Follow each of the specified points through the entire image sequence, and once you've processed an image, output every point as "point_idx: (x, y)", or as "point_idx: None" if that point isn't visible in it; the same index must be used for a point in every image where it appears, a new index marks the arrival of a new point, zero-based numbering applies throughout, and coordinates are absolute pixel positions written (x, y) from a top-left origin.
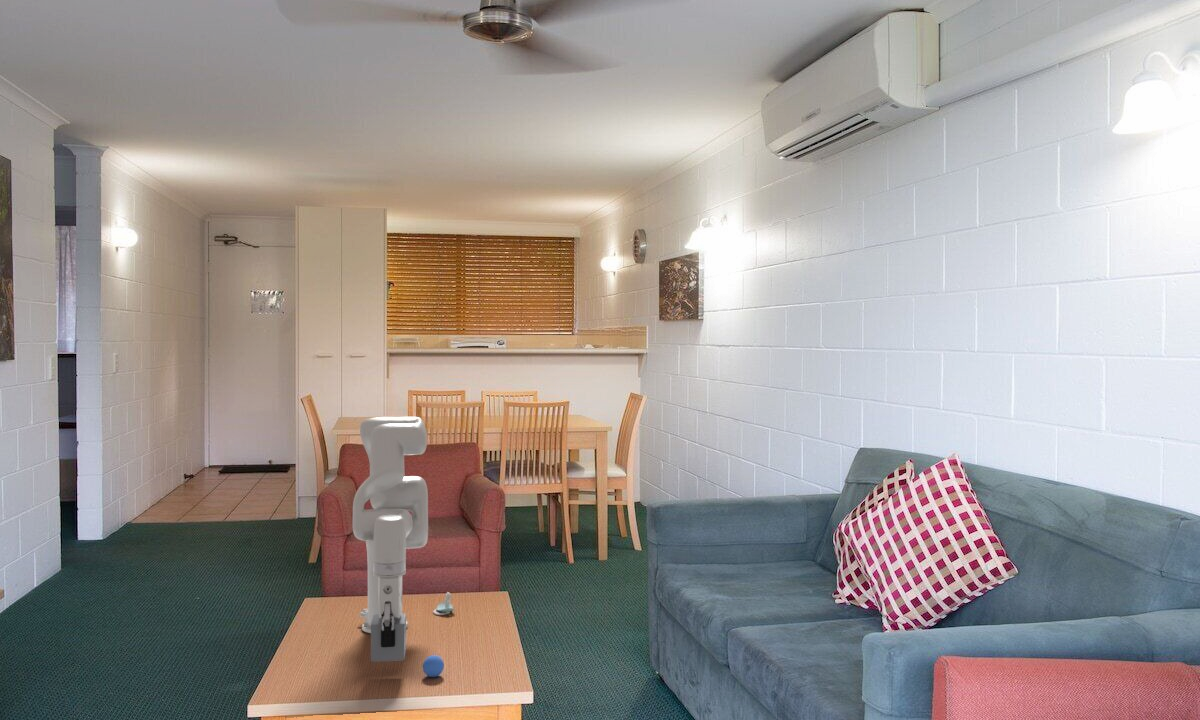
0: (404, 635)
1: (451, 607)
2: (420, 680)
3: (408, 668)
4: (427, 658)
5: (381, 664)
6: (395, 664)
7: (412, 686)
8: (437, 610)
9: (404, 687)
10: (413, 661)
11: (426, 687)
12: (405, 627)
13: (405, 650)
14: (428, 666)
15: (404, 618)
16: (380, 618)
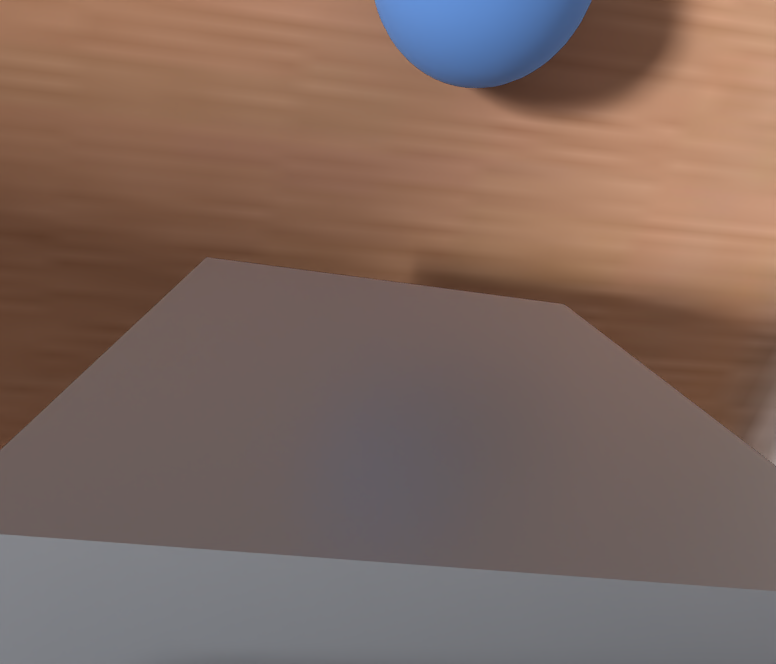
0: (696, 425)
1: None
2: (518, 122)
3: (194, 192)
4: (509, 22)
5: (58, 392)
6: (72, 288)
7: (627, 202)
8: None
9: (623, 263)
10: (8, 128)
11: (697, 92)
12: (371, 410)
13: (304, 274)
14: (571, 31)
15: (489, 595)
16: None
